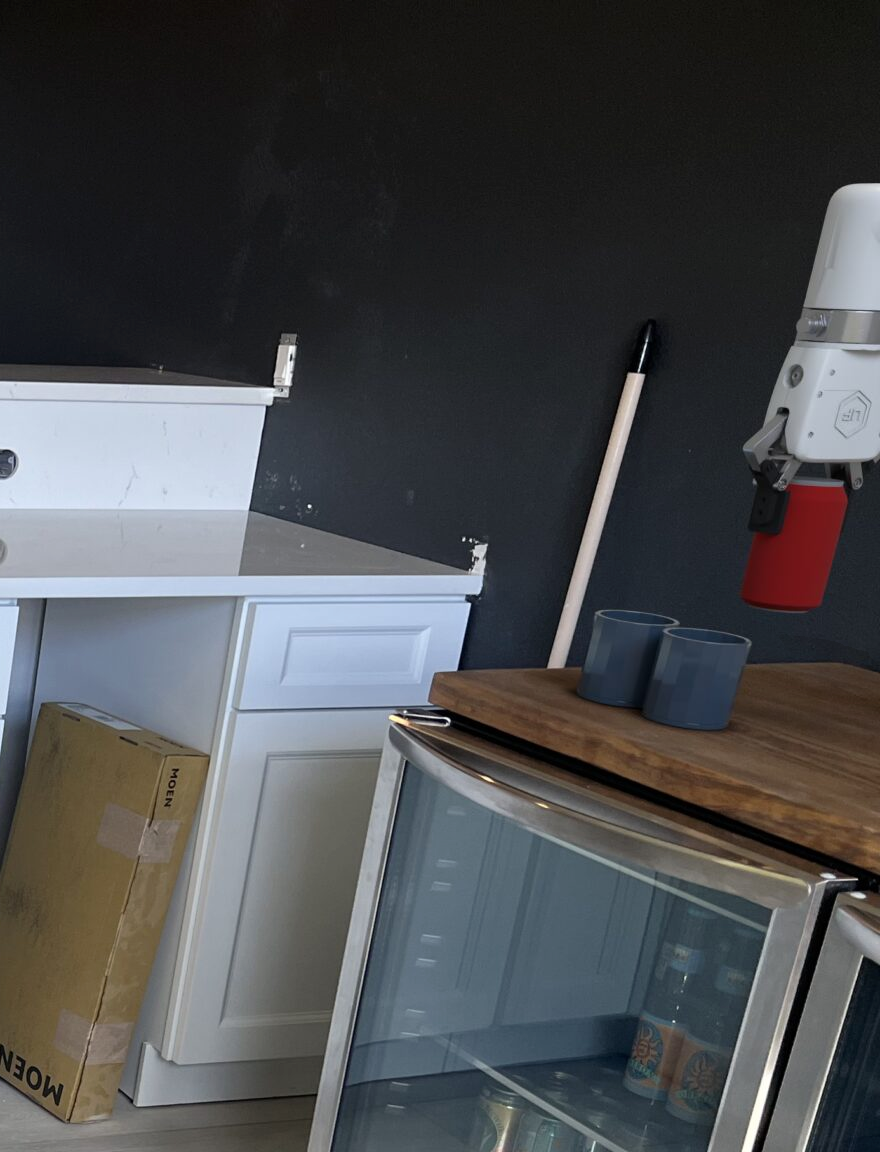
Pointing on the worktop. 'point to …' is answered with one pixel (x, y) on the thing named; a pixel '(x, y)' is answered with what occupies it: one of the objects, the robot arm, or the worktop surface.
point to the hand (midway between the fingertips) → (795, 530)
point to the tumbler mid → (695, 678)
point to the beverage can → (797, 549)
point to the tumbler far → (621, 656)
